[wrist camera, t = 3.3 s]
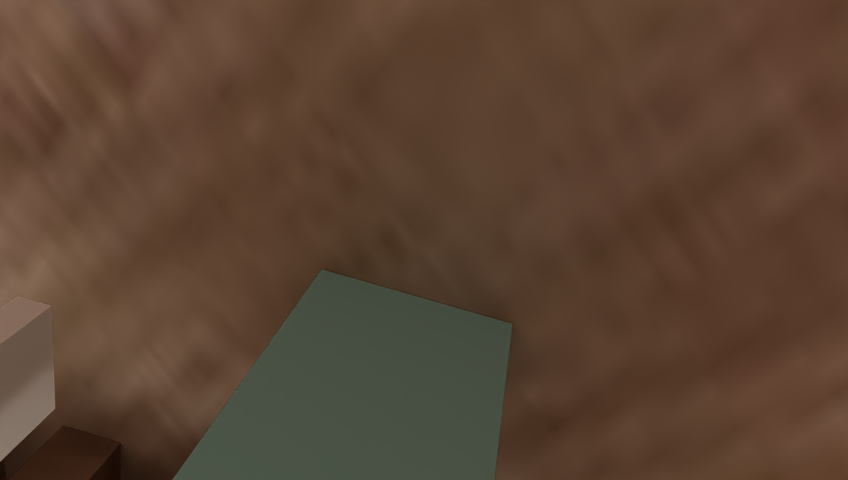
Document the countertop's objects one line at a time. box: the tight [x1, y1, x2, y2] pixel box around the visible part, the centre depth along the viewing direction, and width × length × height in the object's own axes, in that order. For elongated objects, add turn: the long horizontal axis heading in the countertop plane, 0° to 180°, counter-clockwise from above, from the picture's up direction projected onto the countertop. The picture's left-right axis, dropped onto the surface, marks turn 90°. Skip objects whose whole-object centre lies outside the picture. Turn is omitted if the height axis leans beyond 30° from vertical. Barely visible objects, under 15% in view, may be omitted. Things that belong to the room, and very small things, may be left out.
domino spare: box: [173, 269, 512, 480], centre depth 13 cm, size 2×5×10 cm, turn 78°
